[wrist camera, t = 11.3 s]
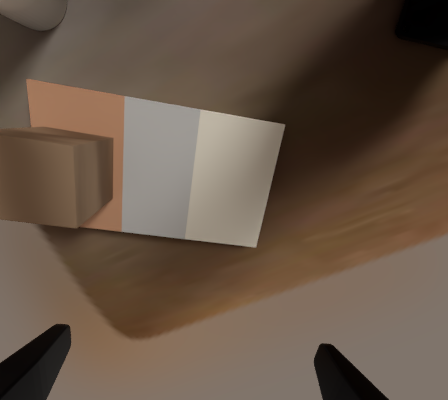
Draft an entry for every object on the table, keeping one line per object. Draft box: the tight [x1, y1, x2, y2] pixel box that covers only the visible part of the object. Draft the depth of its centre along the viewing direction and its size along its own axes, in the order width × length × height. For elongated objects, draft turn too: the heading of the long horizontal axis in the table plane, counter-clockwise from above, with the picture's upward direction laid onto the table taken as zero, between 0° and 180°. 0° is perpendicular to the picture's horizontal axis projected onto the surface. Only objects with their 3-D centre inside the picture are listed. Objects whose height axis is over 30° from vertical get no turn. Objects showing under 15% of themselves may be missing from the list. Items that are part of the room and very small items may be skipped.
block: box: [0, 127, 114, 228], centre depth 14 cm, size 4×4×5 cm
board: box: [26, 79, 285, 247], centre depth 18 cm, size 17×10×1 cm, turn 81°
